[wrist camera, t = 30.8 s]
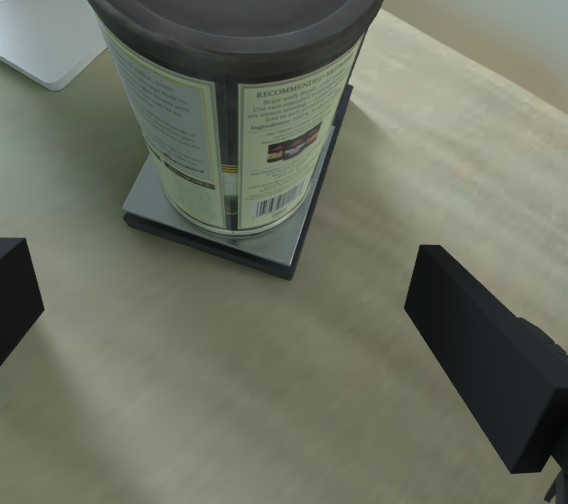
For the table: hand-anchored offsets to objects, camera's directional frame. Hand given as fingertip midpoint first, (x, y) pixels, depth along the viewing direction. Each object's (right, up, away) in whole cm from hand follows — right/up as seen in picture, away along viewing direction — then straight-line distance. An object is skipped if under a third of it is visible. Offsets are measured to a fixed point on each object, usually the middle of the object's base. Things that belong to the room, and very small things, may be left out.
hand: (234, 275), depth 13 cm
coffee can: (-1, +7, +12) cm, 14 cm away
